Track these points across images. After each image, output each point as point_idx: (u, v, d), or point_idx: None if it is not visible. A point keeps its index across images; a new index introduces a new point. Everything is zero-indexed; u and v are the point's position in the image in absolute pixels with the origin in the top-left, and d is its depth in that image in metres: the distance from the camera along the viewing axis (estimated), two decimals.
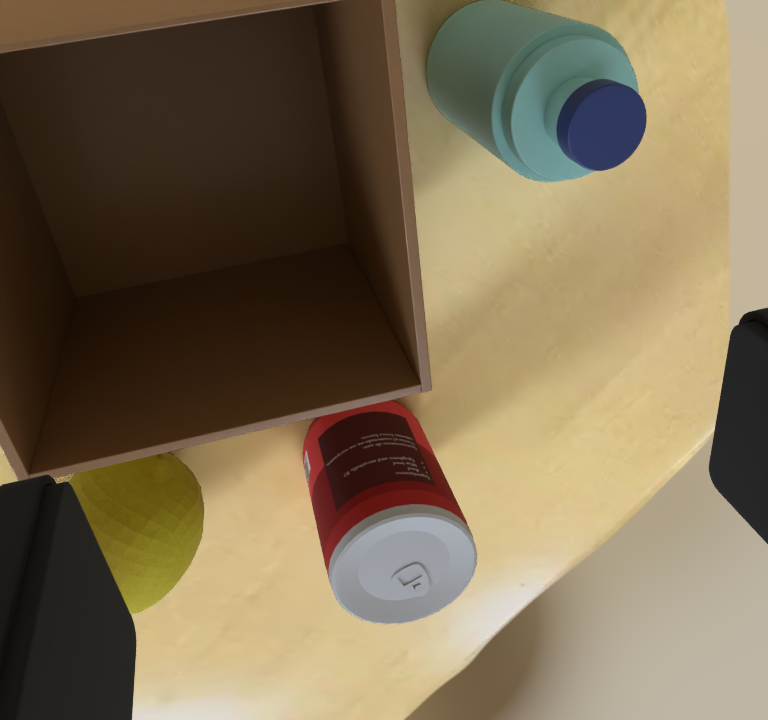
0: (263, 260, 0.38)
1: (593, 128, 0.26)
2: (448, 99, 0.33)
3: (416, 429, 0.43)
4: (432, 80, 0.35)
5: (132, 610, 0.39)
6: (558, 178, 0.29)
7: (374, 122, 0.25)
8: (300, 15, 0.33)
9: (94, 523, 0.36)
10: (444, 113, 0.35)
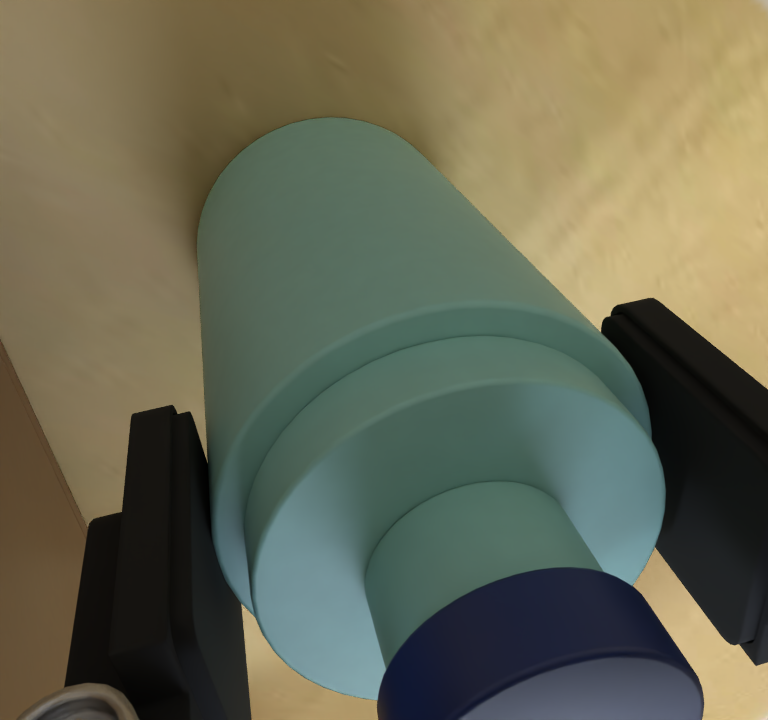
0: None
1: None
2: None
3: None
4: None
5: None
6: None
7: None
8: None
9: None
10: None
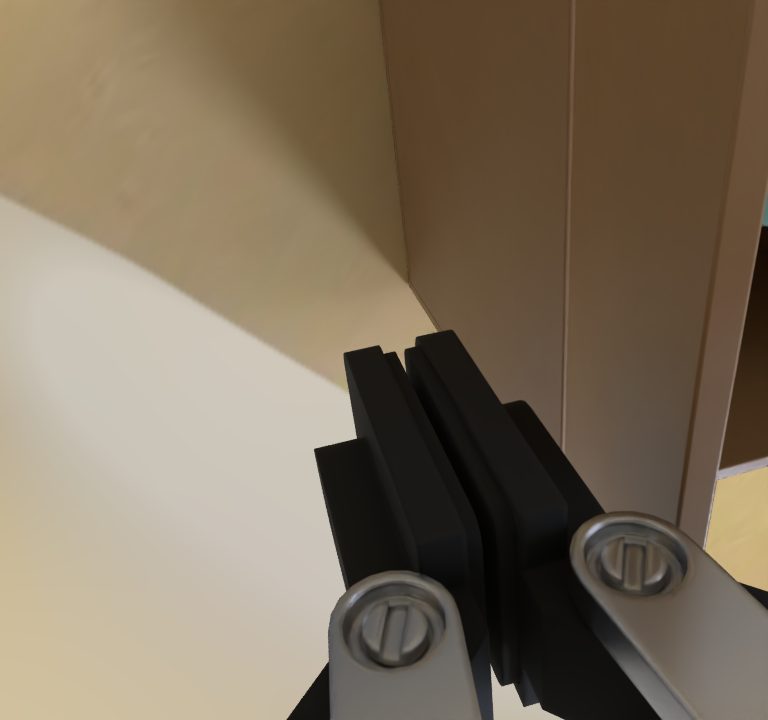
0: None
1: None
2: None
3: None
4: None
5: None
6: None
7: None
8: None
9: None
10: None
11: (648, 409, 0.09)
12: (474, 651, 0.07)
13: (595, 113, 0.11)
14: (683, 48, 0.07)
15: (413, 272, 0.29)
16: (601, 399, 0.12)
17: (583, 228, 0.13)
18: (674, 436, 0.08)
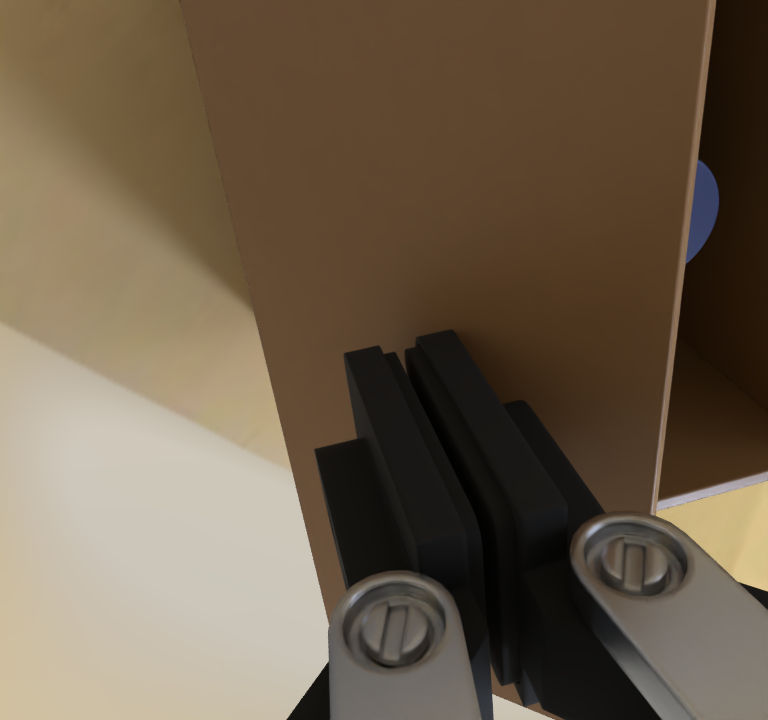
0: None
1: None
2: None
3: None
4: None
5: None
6: None
7: None
8: None
9: None
10: None
11: (562, 382, 0.10)
12: (475, 651, 0.07)
13: (313, 171, 0.10)
14: (565, 50, 0.08)
15: None
16: None
17: (305, 296, 0.12)
18: (635, 375, 0.10)
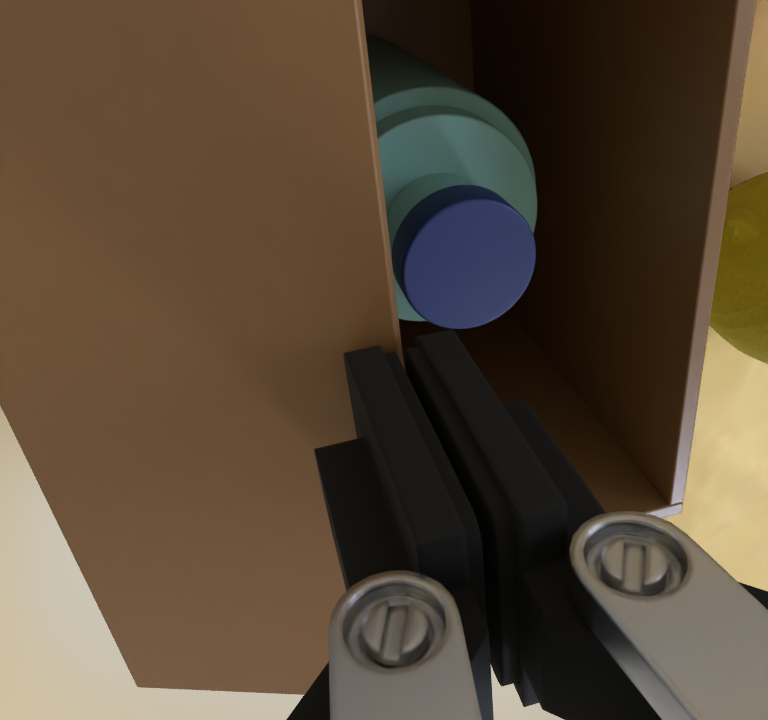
0: (472, 31, 0.25)
1: (467, 291, 0.16)
2: None
3: None
4: None
5: None
6: (532, 231, 0.18)
7: None
8: None
9: None
10: None
11: (311, 377, 0.11)
12: (474, 651, 0.07)
13: (23, 218, 0.10)
14: (248, 77, 0.09)
15: None
16: (189, 458, 0.12)
17: (40, 347, 0.11)
18: None
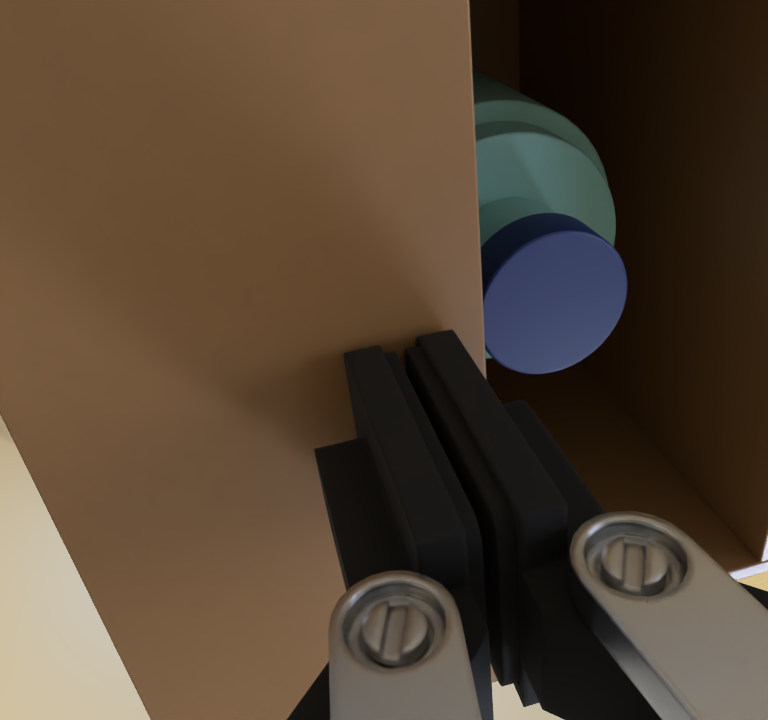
0: (519, 35, 0.23)
1: (548, 333, 0.14)
2: None
3: None
4: None
5: None
6: None
7: None
8: None
9: None
10: None
11: None
12: (474, 651, 0.07)
13: (87, 249, 0.09)
14: (358, 64, 0.09)
15: None
16: (262, 491, 0.11)
17: (93, 400, 0.10)
18: (459, 338, 0.11)
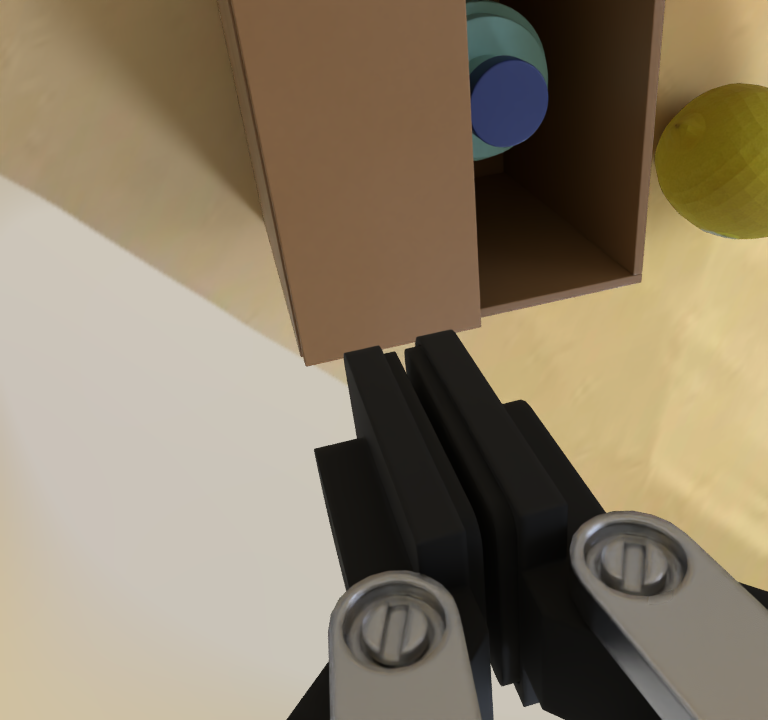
0: None
1: (506, 121, 0.26)
2: None
3: None
4: None
5: None
6: None
7: None
8: None
9: (720, 202, 0.37)
10: None
11: (429, 111, 0.23)
12: (474, 651, 0.07)
13: (301, 34, 0.21)
14: None
15: (261, 208, 0.38)
16: (363, 174, 0.24)
17: (294, 111, 0.22)
18: (458, 94, 0.23)
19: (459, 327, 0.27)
